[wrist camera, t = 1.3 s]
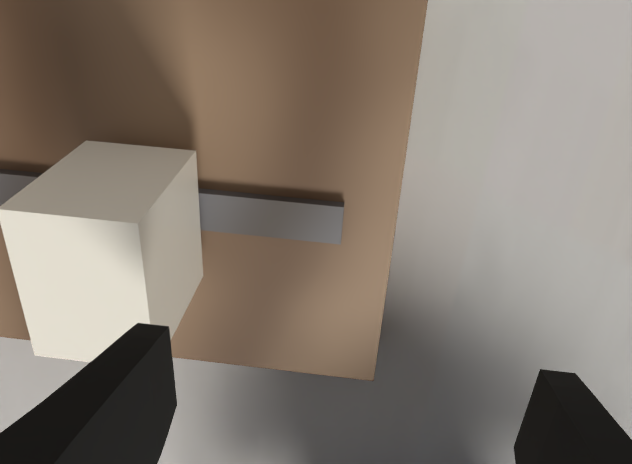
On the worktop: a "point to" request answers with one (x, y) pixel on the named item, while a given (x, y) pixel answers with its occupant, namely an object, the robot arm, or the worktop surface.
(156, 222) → the fader tab
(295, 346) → the fader console
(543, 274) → the worktop surface
